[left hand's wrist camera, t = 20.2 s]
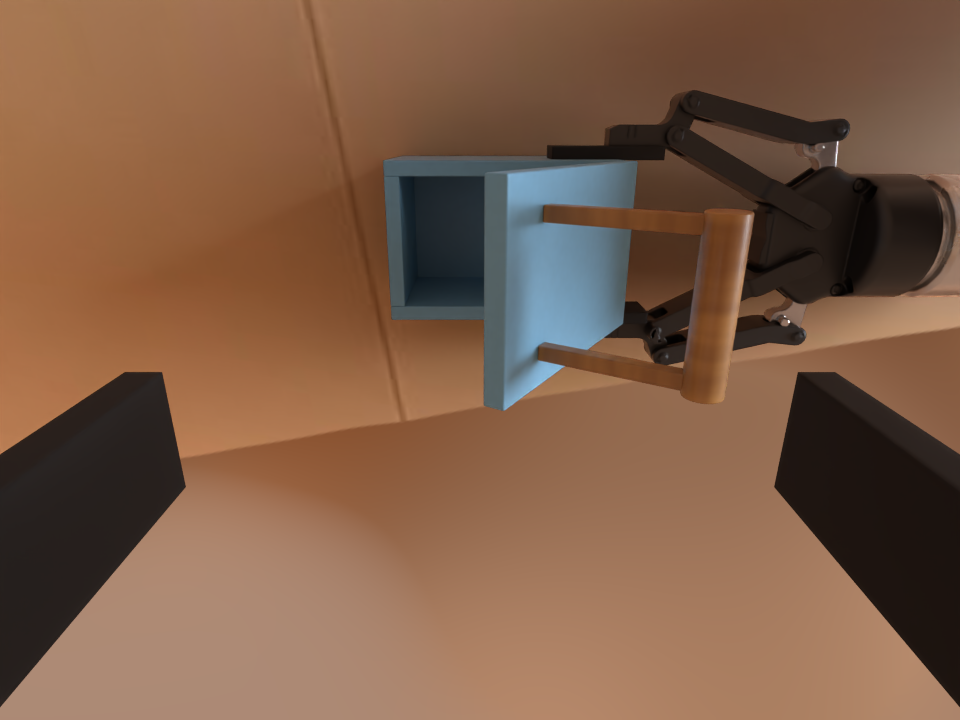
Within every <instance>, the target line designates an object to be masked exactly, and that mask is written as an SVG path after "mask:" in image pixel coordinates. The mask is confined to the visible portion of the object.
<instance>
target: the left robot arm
mask: <svg viewBox="0 0 960 720" xmlns="http://www.w3.org/2000/svg"><path fill="white" fill-rule="evenodd" d="M185 487H186V486H185V481H184V476H183V471H182V467H181V462H180V457H179V452H178V447H177V442H176V437H175V433H174V428H173V423H172V418H171V413H170V408H169V404H168V399H167V394H166V389H165V384H164V380H163V375H162V372H125V373H123V374H121V375H120V376H118V377H117V378H115V379H114V380H112V381H111V382H109V383H108V384H106V385H105V386H103V387H102V388H100V389H99V390H97V391H96V392H94V393H93V394H91V395H90V396H88V397H87V398H85V399H84V400H82V401H81V402H79V403H78V404H76V405H75V406H73V407H71V408H70V409H68V410H67V411H65V412H64V413H62V414H61V415H59V416H58V417H56V418H55V419H53V420H52V421H50V422H49V423H47V424H46V425H44V426H43V427H41V428H40V429H38V430H37V431H35V432H34V433H32V434H31V435H29V436H28V437H26V438H25V439H23V440H21V441H20V442H18V443H17V444H15V445H14V446H12V447H11V448H9V449H8V450H6V451H5V452H3V453H2V454H0V707H1V706H2V704H3V703H4V702H5V701H6V700H7V698H8V697H9V696H10V695H11V694H12V692H13V691H14V690H15V689H16V688H17V687H18V685H19V684H20V683H21V682H22V681H23V679H24V678H25V677H26V676H27V675H28V673H29V672H30V671H31V670H32V669H33V668H34V666H35V665H36V664H37V663H38V662H39V660H40V659H41V658H42V657H43V656H44V654H45V653H46V652H47V651H48V650H49V649H50V647H51V646H52V645H53V644H54V643H55V641H56V640H57V639H58V638H59V637H60V635H61V634H62V633H63V632H64V631H65V630H66V628H67V627H68V626H69V625H70V624H71V622H72V621H73V620H74V619H75V618H76V617H77V615H78V614H79V613H80V612H81V611H82V609H83V608H84V607H85V606H86V605H87V603H88V602H89V601H90V600H91V599H92V598H93V596H94V595H95V594H96V593H97V592H98V590H99V589H100V588H101V587H102V586H103V585H104V583H105V582H106V581H107V580H108V579H109V577H110V576H111V575H112V574H113V573H114V571H115V570H116V569H117V568H118V567H119V566H120V564H121V563H122V562H123V561H124V560H125V558H126V557H127V556H128V555H129V554H130V552H131V551H132V550H133V549H134V548H135V547H136V545H137V544H138V543H139V542H140V541H141V539H142V538H143V537H144V536H145V535H146V534H147V532H148V531H149V530H150V529H151V528H152V526H153V525H154V524H155V523H156V522H157V520H158V519H159V518H160V517H161V516H162V515H163V513H164V512H165V511H166V510H167V508H168V507H169V506H170V505H171V504H172V503H173V501H174V500H175V499H176V498H177V497H178V496H179V494H180V493H181V492H182V491H183V490H184V488H185ZM774 487H775V488H776V490H777V491H778V492H779V493H780V494H781V496H782V497H783V498H784V499H785V500H786V501H787V503H788V504H789V505H790V506H791V507H792V509H793V510H794V511H795V512H796V513H797V514H798V516H799V517H800V518H801V519H802V520H803V522H804V523H805V524H806V525H807V526H808V528H809V529H810V530H811V531H812V532H813V534H814V535H815V536H816V537H817V538H818V539H819V541H820V542H821V543H822V544H823V545H824V547H825V548H826V549H827V550H828V551H829V552H830V554H831V555H832V556H833V557H834V558H835V560H836V561H837V562H838V563H839V564H840V566H841V567H842V568H843V569H844V570H845V571H846V573H847V574H848V575H849V576H850V577H851V579H852V580H853V581H854V582H855V583H856V585H857V586H858V587H859V588H860V589H861V590H862V592H863V593H864V594H865V595H866V596H867V598H868V599H869V600H870V601H871V602H872V603H873V605H874V606H875V607H876V608H877V609H878V611H879V612H880V613H881V614H882V615H883V617H884V618H885V619H886V620H887V621H888V622H889V624H890V625H891V626H892V627H893V628H894V630H895V631H896V632H897V633H898V634H899V635H900V637H901V638H902V639H903V640H904V641H905V643H906V644H907V645H908V646H909V647H910V649H911V650H912V651H913V652H914V653H915V655H916V656H917V657H918V658H919V659H920V660H921V662H922V663H923V664H924V665H925V666H926V668H927V669H928V670H929V671H930V672H931V674H932V675H933V676H934V677H935V678H936V679H937V681H938V682H939V683H940V684H941V685H942V686H943V688H944V689H945V690H946V691H947V692H948V694H949V695H950V696H951V697H952V698H953V700H954V701H955V702H956V703H957V704H958V706H959V707H960V454H958V453H957V452H955V451H954V450H952V449H951V448H949V447H948V446H946V445H944V444H943V443H942V442H940V441H938V440H937V439H935V438H934V437H932V436H931V435H929V434H928V433H926V432H925V431H923V430H922V429H920V428H919V427H917V426H916V425H914V424H913V423H911V422H910V421H908V420H907V419H905V418H904V417H902V416H901V415H899V414H898V413H896V412H895V411H893V410H892V409H890V408H889V407H887V406H885V405H884V404H882V403H881V402H879V401H878V400H876V399H875V398H873V397H872V396H870V395H869V394H867V393H866V392H864V391H863V390H861V389H860V388H858V387H857V386H855V385H854V384H852V383H851V382H849V381H848V380H846V379H845V378H843V377H842V376H840V375H839V374H837V373H835V372H798V375H797V380H796V385H795V389H794V394H793V399H792V404H791V408H790V413H789V418H788V423H787V428H786V433H785V438H784V442H783V447H782V452H781V457H780V462H779V466H778V472H777V476H776V481H775V486H774Z"/></svg>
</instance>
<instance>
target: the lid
mask: <svg viewBox="0 0 960 720" xmlns="http://www.w3.org/2000/svg"><path fill="white" fill-rule="evenodd" d="M637 164H638V162H637V161H612V162H601V163H589V164H578V165H567V166H555V167H544V168H532V169H521V170H509V171H498V172H487V173H485V201H484V406H487V407H490V408H494V409H498V410H502V411H504V410H506V409H507V408H509V407H510V406H511V405H513V404H514V403H515V402H517V401H518V400H520V399H521V398H522V397H524V396H525V395H526V394H528V393H529V392H530V391H532V390H533V389H535V388H536V387H537V386H539V385H540V384H541V383H543V382H544V381H545V380H547V379H548V378H550V377H551V376H552V375H554V374H555V373H556V372H558V371H559V370H560V369H562V368H563V367H565V366H567V367H572V368H576V369H581V370H586V371H590V372H595V373H600V374H605V375H609V376H614V377H619V378H623V379H628V380H633V381H638V382H642V383H647V384H652V385H657V386H661V387H666V388H671V389H676V390H680V393H681V395H682V396H683V397H684V398H685V399H687V400H690V401H692V402H696V403H701V404H717V403H720V402H722V401H723V400H724V398H725V392H726V386H727V380H728V374H729V368H730V362H731V356H732V349H733V343H734V337H735V331H736V325H737V319H738V313H739V306H740V300H741V294H742V288H743V282H744V276H745V270H746V263H747V257H748V251H749V245H750V239H751V233H752V227H753V220H754V212H752V211H749V210H741V209H707V210H705V211H704V213H697V212H681V211H665V210H649V209H633V208H634V197H635V186H636V175H637ZM631 230H641V231H654V232H666V233H678V234H691V235H701V239H700V246H699V254H698V261H697V269H696V276H695V284H694V291H693V299H692V306H691V314H690V321H689V329H688V336H687V344H686V352H685V359H684V367H683V368H677V367H672V366H667V365H662V364H657V363H652V362H646V361H641V360H636V359H631V358H626V357H621V356H615V355H610V354H605V353H600V352H595V351H590V350H588V349H589V348H590V347H592V346H593V345H595V344H596V343H597V342H599V341H600V340H601V339H603V338H604V337H605V336H607V335H608V334H610V333H611V332H612V331H614V330H615V329H616V328H618V327H619V326H620V325H622V324H623V318H624V307H625V296H626V285H627V274H628V263H629V252H630V241H631Z"/></svg>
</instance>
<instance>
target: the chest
mask: <svg viewBox="0 0 960 720" xmlns="http://www.w3.org/2000/svg"><path fill="white" fill-rule="evenodd" d="M612 161H626V160H619V159H549V158H547V156H400V157H396V158H391V159H387V160H383V170H384V176H385V177H384V190H385V208H386V226H387V245H388V263H389V281H390V300H391V317H392V320H484V201H485V173H487V172H498V171H509V170H521V169H532V168H544V167H555V166H567V165H578V164H589V163H601V162H612Z"/></svg>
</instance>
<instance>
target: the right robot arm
mask: <svg viewBox="0 0 960 720" xmlns="http://www.w3.org/2000/svg"><path fill="white" fill-rule="evenodd" d="M693 120H697V121H701V122H705V123H708V124H712V125H716V126H719V127H723V128H726V129H730V130H734V131H737V132H741V133H745V134H748V135H752V136H756V137H759V138H763V139H767V140H770V141H774V142H779V143H788V144H795V151H796V153H797V154H798V155H799V156H800V157H806V158H808V159H809V160H810V162H811V168H809V169H808V170H806V171H805V172H803V173H802V174H800V175H799V176H797V177H796V178H794V179H793V180H791V181H790V182H788V183H787V184H785V185H784V184H782V183H781V182H779V181H776V180H774V179H771V178H769V177H768V176H766V175H764V174H763V173H761V172H759V171H758V170H756V169H754V168H753V167H751V166H749V165H748V164H746V163H744V162H743V161H741V160H739V159H738V158H736V157H734V156H733V155H731V154H729V153H728V152H726V151H724V150H723V149H721V148H719V147H718V146H716V145H714V144H713V143H711V142H709V141H708V140H706V139H704V138H703V137H701V136H699V135H698V134H696V133H694V132H693V131H691V130H689V129H690V126H691V124H692V122H693ZM849 131H850V124H849V123H848V121H847V120H845V119H826V120H813V121H805V120H801V119H797V118H794V117H790V116H787V115H783V114H780V113H776V112H772V111H769V110H765V109H762V108H758V107H754V106H751V105H747V104H744V103H740V102H737V101H733V100H729V99H726V98H722V97H719V96H715V95H711V94H708V93H704V92H701V91H697V90H692V91H688V92H683V93H679V94H676V95H675V96H674V97H673V98H672V99H671V101H670V109H669V111H668V113H667V115H666V117H665V119H664V120H663V121H662V122H661V123H659V124H657V125H613V126H611V127H608V128H606V129H605V141H604V146H573V145H547V158H549V159H619V160H664V157H665V149H667V150H668V151H670V152H672V153H673V154H675V155H677V156H679V157H680V158H682V159H684V160H685V161H687V162H689V163H690V164H692V165H694V166H696V167H697V168H699V169H701V170H702V171H704V172H706V173H707V174H709V175H711V176H713V177H714V178H716V179H718V180H719V181H721V182H723V183H724V184H726V185H728V186H730V187H731V188H733V189H735V190H736V191H738V192H740V193H741V194H742V195H743V196H745V197H746V198H748V199H750V200H751V201H753V202H755V203H756V204H758V205H759V206H758V208H757V210H753V212H754V220H753V227H752V233H753V234H752V237H751V239H750V245H749V251H748V257H747V259H749V260H747V263H746V270H745V276H744V282H743V288H742V294H741V300H740V302H741V301H743V300H745V299H747V298H750V297H757V296H761V295H764V294H766V293H768V292H770V291H772V290H774V289H776V290H777V291H778V292H779V293H781V294H782V295H783V296H784V297H786V300H785V302H784V303H783V304H782V305H781V306H778V307H773V308H770V309H767V310H766V311H765V312H764V315H750V316H745V317H740V318H738V319H737V325H736V331H735V337H734V343H733V349H732V351H733V350H738V349H742V348H747V347H752V346H756V345H761V344H765V343H777V344H787V345H799V344H801V343H802V342H804V340H805V338H806V331H805V330H804V329H802V328H801V327H800V325H801V322H802V319H803V316H804V313H805V310H806V307H807V304H810V303H813V302H815V301H817V300H819V299H822V298H825V297H894V296H899V295H901V296H904V297H960V174H926V175H919V176H916V175H912V174H848V173H846V172H844V171H843V170H842V169H840V168H838V167H836V162H837V152H838V142H839V141H840V140H843V139H844V138H846V136H847V135H848V134H849ZM693 291H694V289H692V290H690V291H688V292H686V293H684V294H682V295H680V296H678V297H676V298H673V299H671V300H669V301H667V302H665V303H663V304H661V305H659V306H657V307H655V308H652V309H650V310H648V311H646V310H645V309H644V308H643V307H642V306H641V305H640V304H639V303H638V302H625V307H624V318H623V324H622V325H620V326H619V327H618V328H616V329H615V330H614V331H612V332H611V333H610V334H608V335H607V336H605V337H604V338H641V339H643V342H644V349H645V351H646V352H647V353H648V355H649V356H650V357H651V359H652V360H653V361H654V362H655V363H657V364H662V365H670V364H674V363H679V362H683V361H684V359H685V352H686V344H687V336H688V329H687V330H682V331H678V330H680V329H683V328H685V327H687V326H689V321H690V314H691V306H692V299H693ZM676 331H678V332H676Z"/></svg>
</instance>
